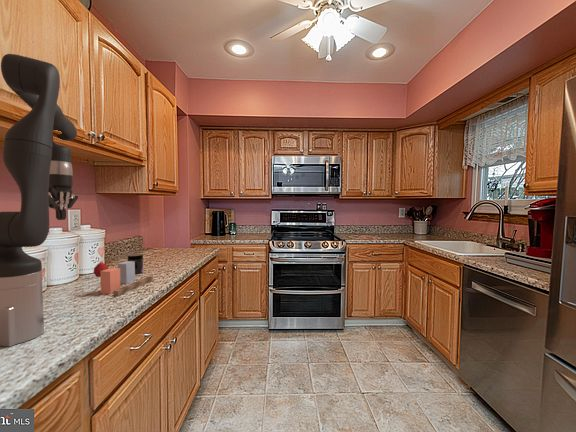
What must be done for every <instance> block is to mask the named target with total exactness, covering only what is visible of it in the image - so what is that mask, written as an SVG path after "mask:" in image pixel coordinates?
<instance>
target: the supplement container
mask: <svg viewBox="0 0 576 432" xmlns="http://www.w3.org/2000/svg"><path fill="white" fill-rule="evenodd" d="M126 259H127V260H126V261H133V262H135V276H137V275H141V274H143V273H144V253H130V254H127V255H126Z"/></svg>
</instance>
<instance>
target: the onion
mask: <svg viewBox="0 0 576 432" xmlns="http://www.w3.org/2000/svg"><path fill="white" fill-rule="evenodd" d="M106 269H110V268H109V266H108V264H106V263H104V260H102V261H99V263H98V264H96V266H95V267H94V268H93V274H94V275H95V276H96V277H100V271H103V270H106Z"/></svg>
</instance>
